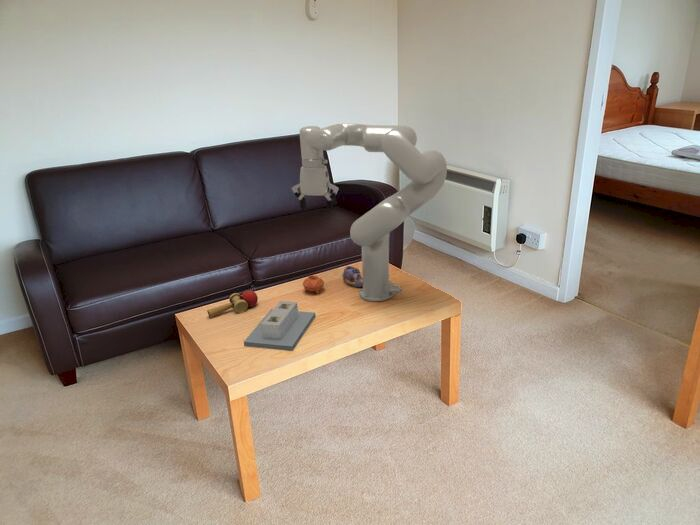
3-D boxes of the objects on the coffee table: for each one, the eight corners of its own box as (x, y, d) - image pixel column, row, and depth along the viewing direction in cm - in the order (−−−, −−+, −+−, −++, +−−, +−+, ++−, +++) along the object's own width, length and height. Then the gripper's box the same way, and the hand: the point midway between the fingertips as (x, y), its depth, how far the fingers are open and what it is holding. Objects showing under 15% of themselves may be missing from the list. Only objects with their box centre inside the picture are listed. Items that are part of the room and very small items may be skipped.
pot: (308, 284, 200) (311, 269, 197) (326, 292, 197) (328, 276, 194) (297, 292, 194) (299, 276, 191) (314, 300, 191) (317, 284, 188)
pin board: (315, 316, 176) (314, 303, 174) (292, 350, 157) (291, 336, 155) (271, 313, 180) (270, 300, 178) (244, 345, 161) (242, 331, 159)
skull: (371, 287, 196) (370, 272, 193) (353, 292, 193) (352, 277, 190) (357, 276, 206) (356, 262, 204) (339, 281, 203) (338, 266, 201)
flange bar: (280, 339, 160) (278, 325, 158) (262, 337, 162) (260, 323, 160) (298, 315, 174) (297, 302, 172) (281, 314, 176) (280, 300, 174)
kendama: (215, 326, 177) (263, 305, 184) (208, 309, 175) (257, 289, 182) (209, 320, 183) (256, 300, 191) (203, 304, 182) (250, 285, 189)
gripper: (339, 160, 182) (342, 207, 189) (293, 160, 187) (297, 206, 193) (333, 165, 175) (336, 213, 182) (285, 165, 180) (290, 212, 186)
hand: (316, 210), depth 187 cm, fingers open, 9 cm apart
